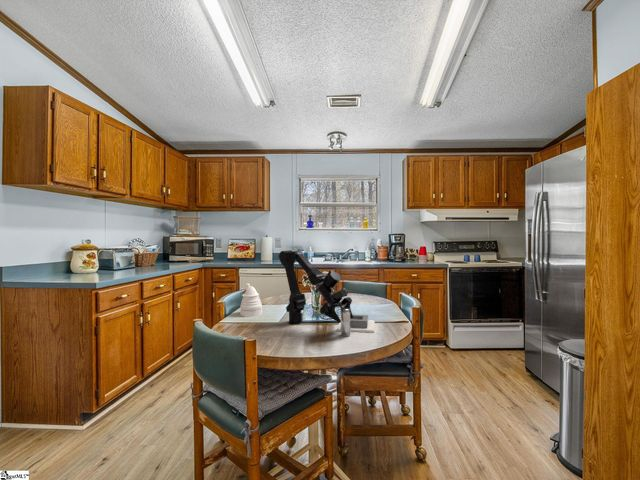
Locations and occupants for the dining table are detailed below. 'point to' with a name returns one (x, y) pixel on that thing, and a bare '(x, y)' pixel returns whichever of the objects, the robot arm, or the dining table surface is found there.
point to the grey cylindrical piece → (345, 322)
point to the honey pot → (250, 303)
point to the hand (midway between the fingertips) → (346, 320)
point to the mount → (360, 324)
